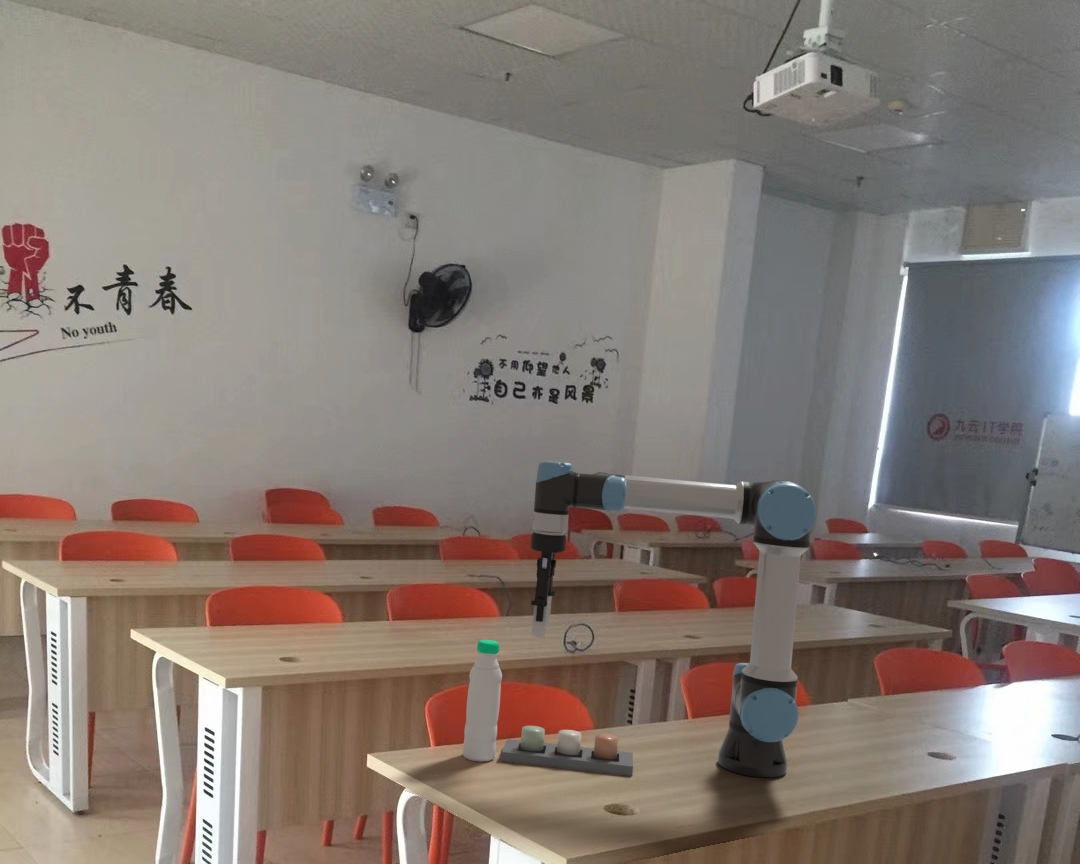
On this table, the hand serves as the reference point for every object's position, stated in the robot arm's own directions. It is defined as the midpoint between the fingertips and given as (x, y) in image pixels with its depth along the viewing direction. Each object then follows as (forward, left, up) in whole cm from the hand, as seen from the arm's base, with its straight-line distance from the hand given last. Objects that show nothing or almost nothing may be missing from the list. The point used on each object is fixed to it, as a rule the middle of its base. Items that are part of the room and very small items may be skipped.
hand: (540, 631), depth 228 cm
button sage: (0, -2, -26) cm, 26 cm away
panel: (-8, -2, -28) cm, 29 cm away
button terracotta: (-16, -2, -26) cm, 31 cm away
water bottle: (+11, +2, -28) cm, 30 cm away
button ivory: (-8, -2, -26) cm, 27 cm away
